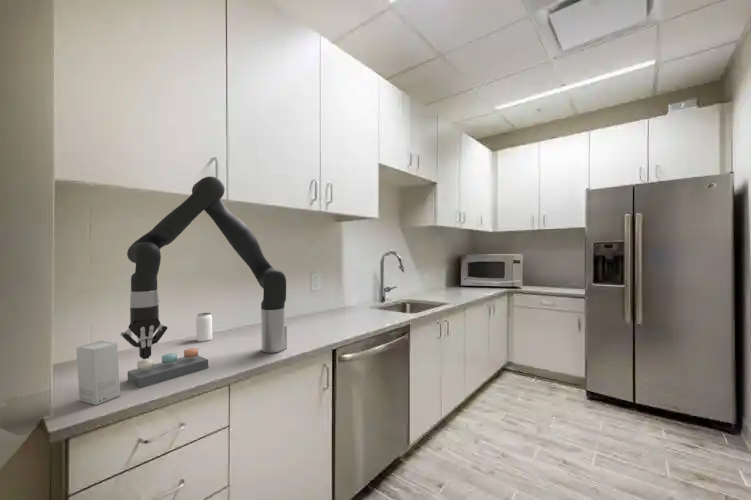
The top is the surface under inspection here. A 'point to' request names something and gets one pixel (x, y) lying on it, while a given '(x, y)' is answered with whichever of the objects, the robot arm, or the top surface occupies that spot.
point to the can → (204, 327)
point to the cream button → (145, 364)
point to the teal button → (169, 358)
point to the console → (166, 371)
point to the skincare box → (98, 372)
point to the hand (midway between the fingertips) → (145, 358)
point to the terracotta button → (190, 352)
